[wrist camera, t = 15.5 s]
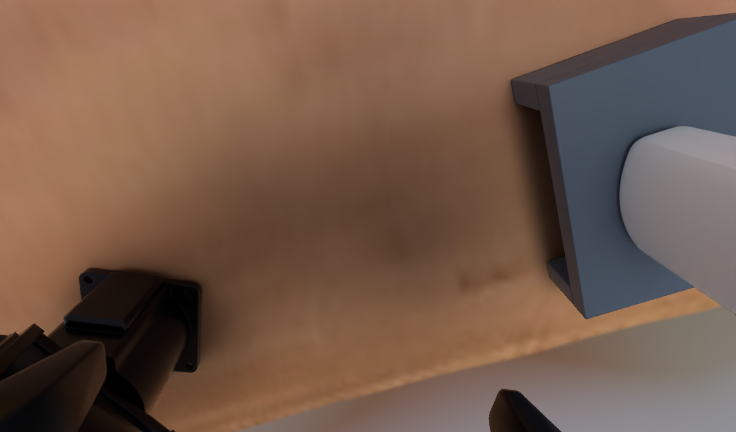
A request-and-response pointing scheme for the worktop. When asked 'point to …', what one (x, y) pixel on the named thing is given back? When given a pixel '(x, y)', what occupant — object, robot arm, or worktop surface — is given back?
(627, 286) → the shelf
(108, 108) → the worktop surface
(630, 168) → the eye dropper bottle
